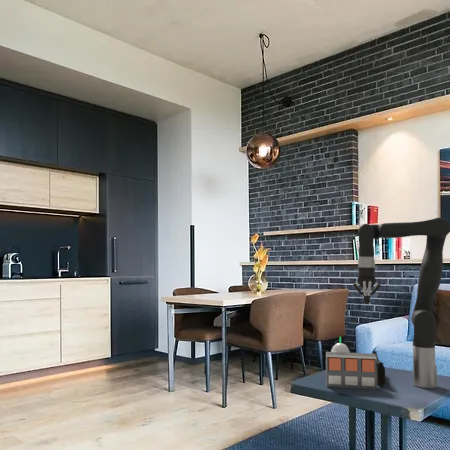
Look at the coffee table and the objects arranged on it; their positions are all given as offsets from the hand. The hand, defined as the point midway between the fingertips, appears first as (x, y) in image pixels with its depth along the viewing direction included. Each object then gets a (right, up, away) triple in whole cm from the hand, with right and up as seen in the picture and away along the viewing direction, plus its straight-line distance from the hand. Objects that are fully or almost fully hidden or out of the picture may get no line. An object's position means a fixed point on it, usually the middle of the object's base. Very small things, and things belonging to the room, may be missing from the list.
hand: (366, 303), depth 227 cm
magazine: (+5, -36, 0) cm, 36 cm away
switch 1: (-18, -26, -13) cm, 35 cm away
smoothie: (-13, -35, -5) cm, 38 cm away
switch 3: (-4, -26, -16) cm, 31 cm away
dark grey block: (-11, -34, -14) cm, 38 cm away
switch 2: (-11, -26, -15) cm, 32 cm away
